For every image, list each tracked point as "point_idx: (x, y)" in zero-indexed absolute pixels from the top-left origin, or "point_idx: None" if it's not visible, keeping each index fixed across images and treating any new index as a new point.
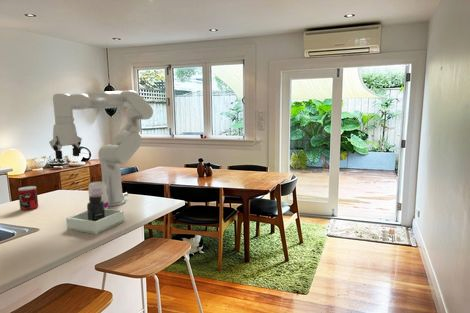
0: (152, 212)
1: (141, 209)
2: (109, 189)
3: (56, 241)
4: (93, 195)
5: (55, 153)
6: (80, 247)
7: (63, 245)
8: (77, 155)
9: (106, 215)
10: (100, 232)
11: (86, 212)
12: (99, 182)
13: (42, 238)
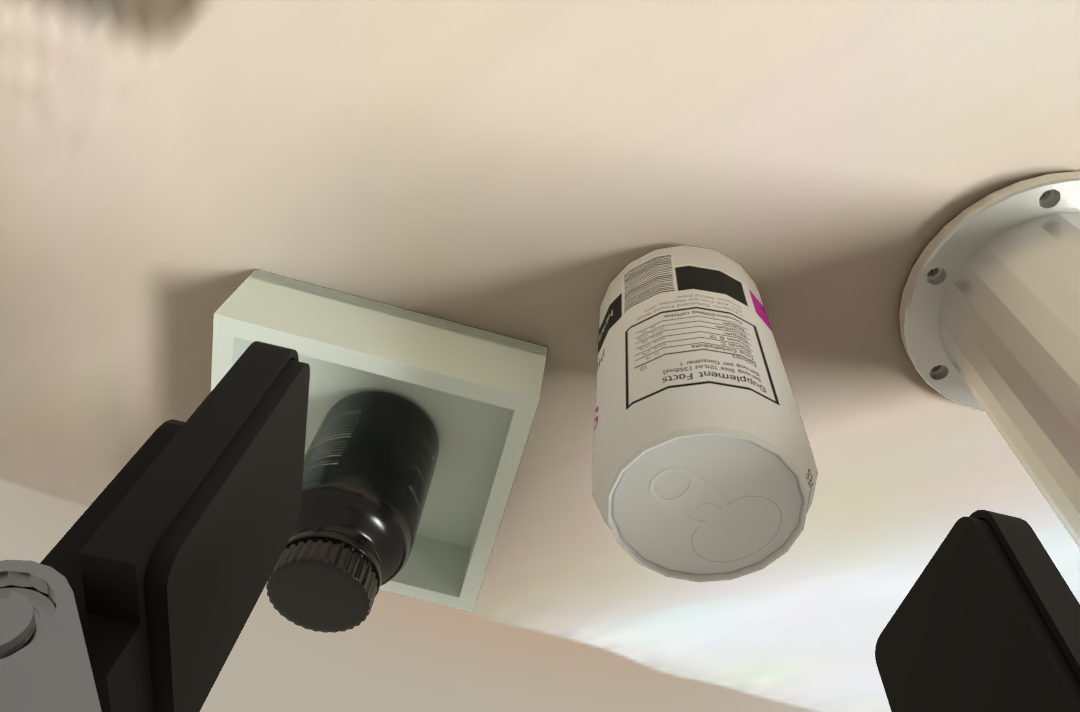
0: (691, 645)
1: (772, 572)
2: (1004, 407)
3: (60, 324)
4: (329, 580)
5: (92, 504)
6: (58, 490)
7: (36, 397)
8: (882, 657)
9: (495, 466)
10: None
11: (410, 377)
12: (763, 510)
13: (56, 196)
